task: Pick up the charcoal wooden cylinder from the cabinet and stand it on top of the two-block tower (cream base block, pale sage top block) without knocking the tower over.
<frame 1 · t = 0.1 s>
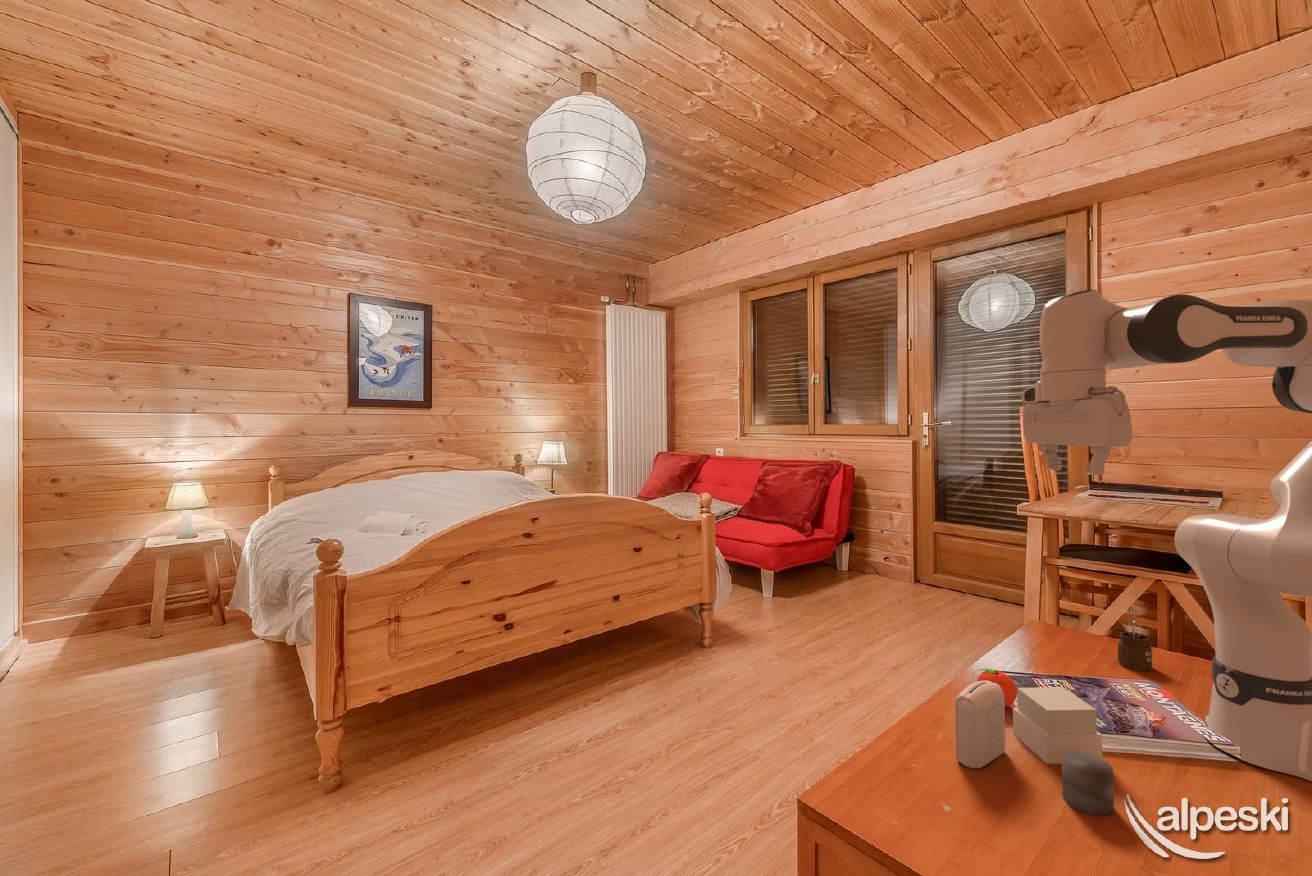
hand: (1073, 472, 94), 48 cm above the cabinet, tool pointing down, fingers open, 8 cm apart
utensil holder: (1134, 666, 127), on the cabinet
tower top block: (1055, 721, 96), point 5 cm above the cabinet, touching tower bottom block
clementine: (993, 705, 112), on the cabinet
tower bottom block: (1055, 749, 97), on the cabinet, touching tower top block
photo printer: (981, 757, 95), on the cabinet
charcoal cylinder: (1087, 803, 83), on the cabinet
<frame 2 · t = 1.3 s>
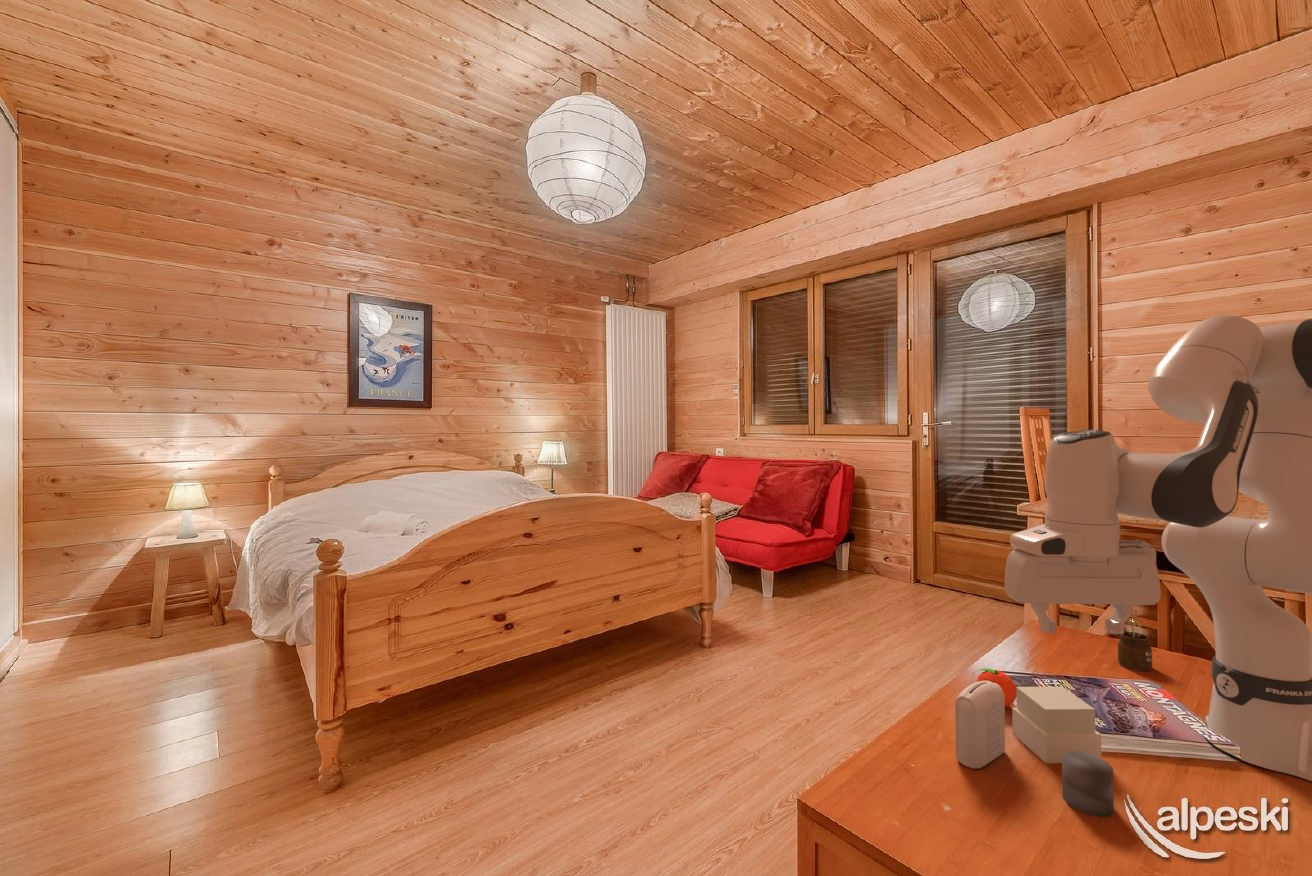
hand: (1080, 632, 83), 25 cm above the cabinet, tool pointing down, fingers open, 8 cm apart
nothing on the cabinet moved.
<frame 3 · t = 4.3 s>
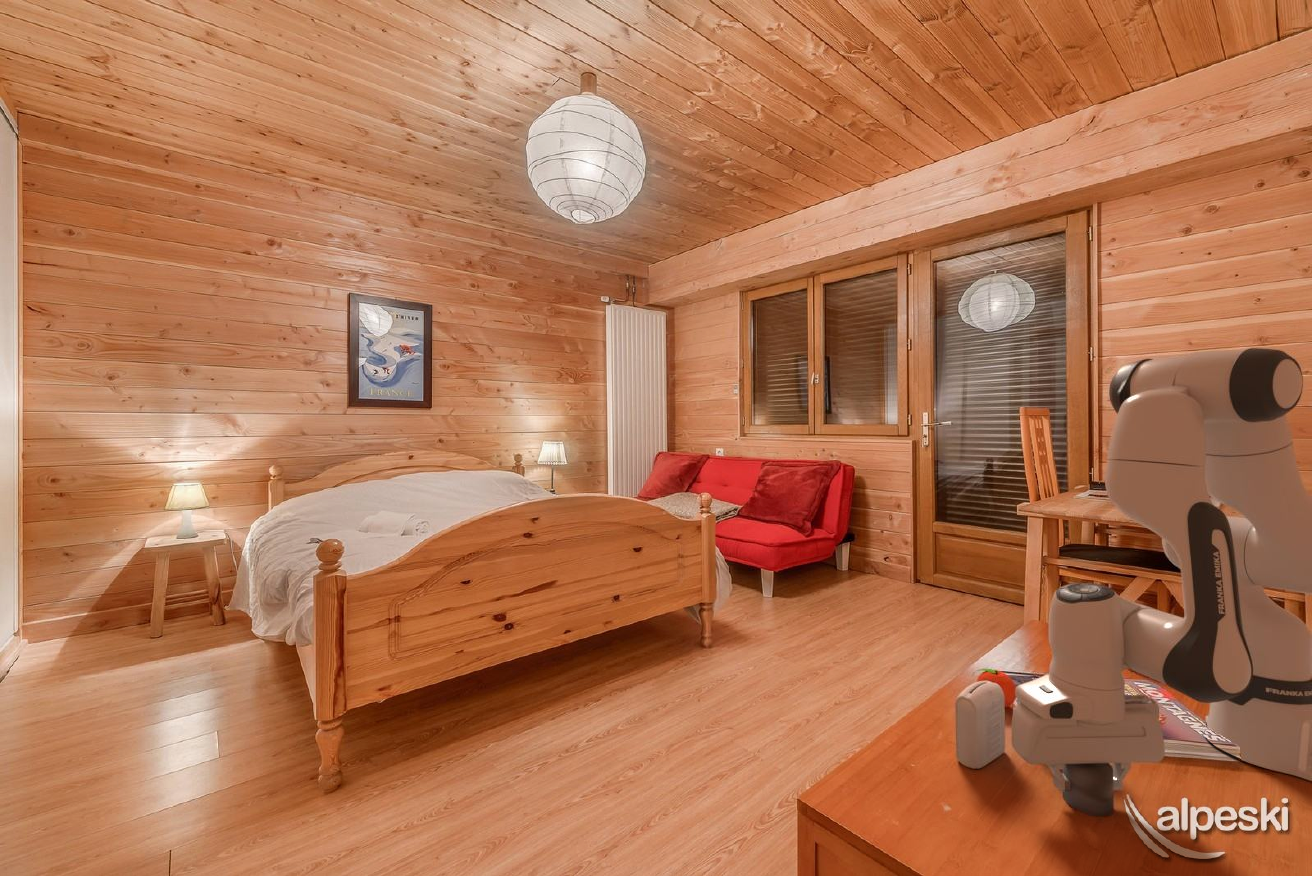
hand: (1087, 788, 83), 2 cm above the cabinet, tool pointing down, fingers closed on charcoal cylinder, 6 cm apart
charcoal cylinder: (1087, 802, 83), on the cabinet, touching gripper
everything else where it was.
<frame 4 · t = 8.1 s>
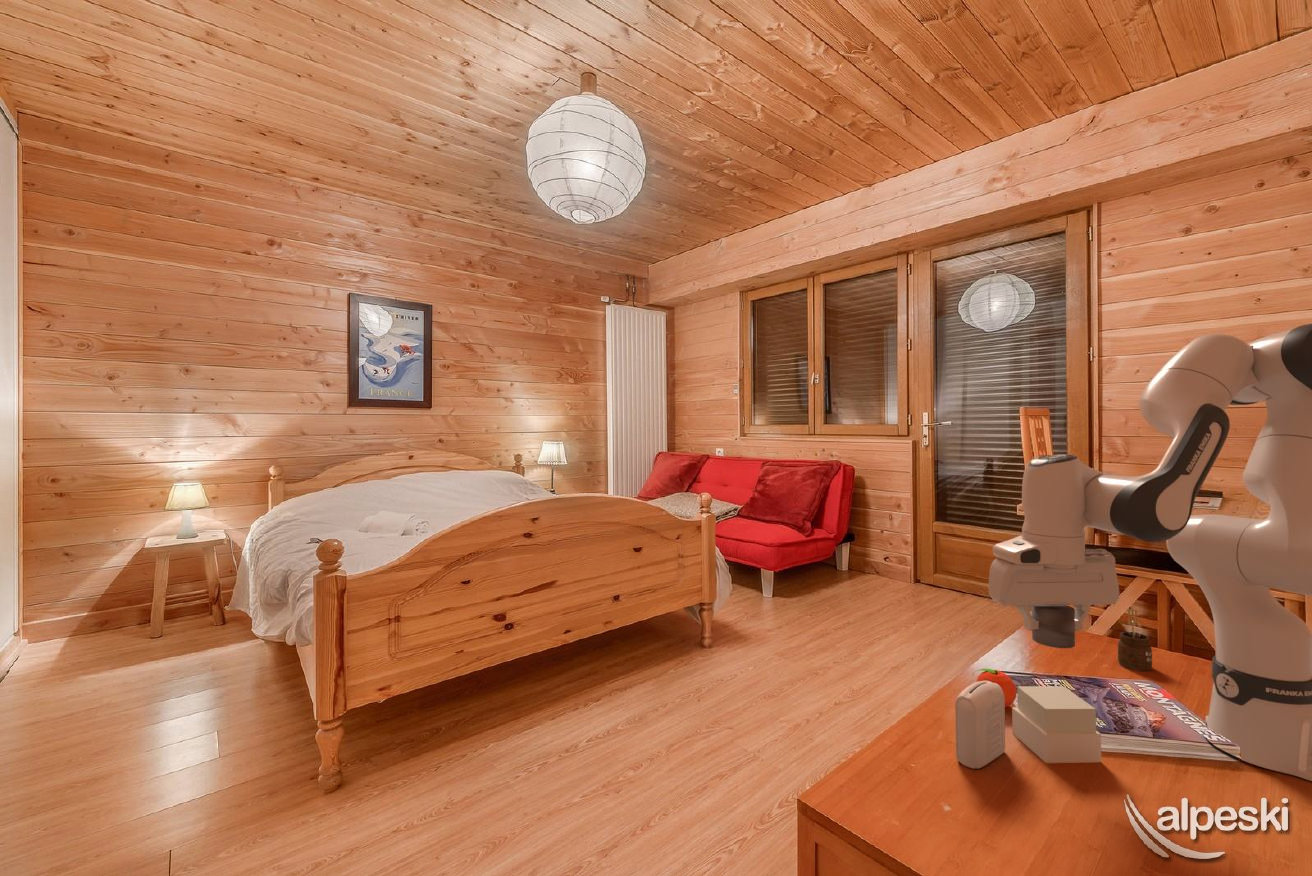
hand: (1053, 629, 96), 21 cm above the cabinet, tool pointing down, fingers closed on charcoal cylinder, 6 cm apart
tower top block: (1055, 720, 97), point 5 cm above the cabinet
tower bottom block: (1054, 748, 97), on the cabinet
charcoal cylinder: (1053, 641, 96), point 19 cm above the cabinet, touching gripper
everything else where it was.
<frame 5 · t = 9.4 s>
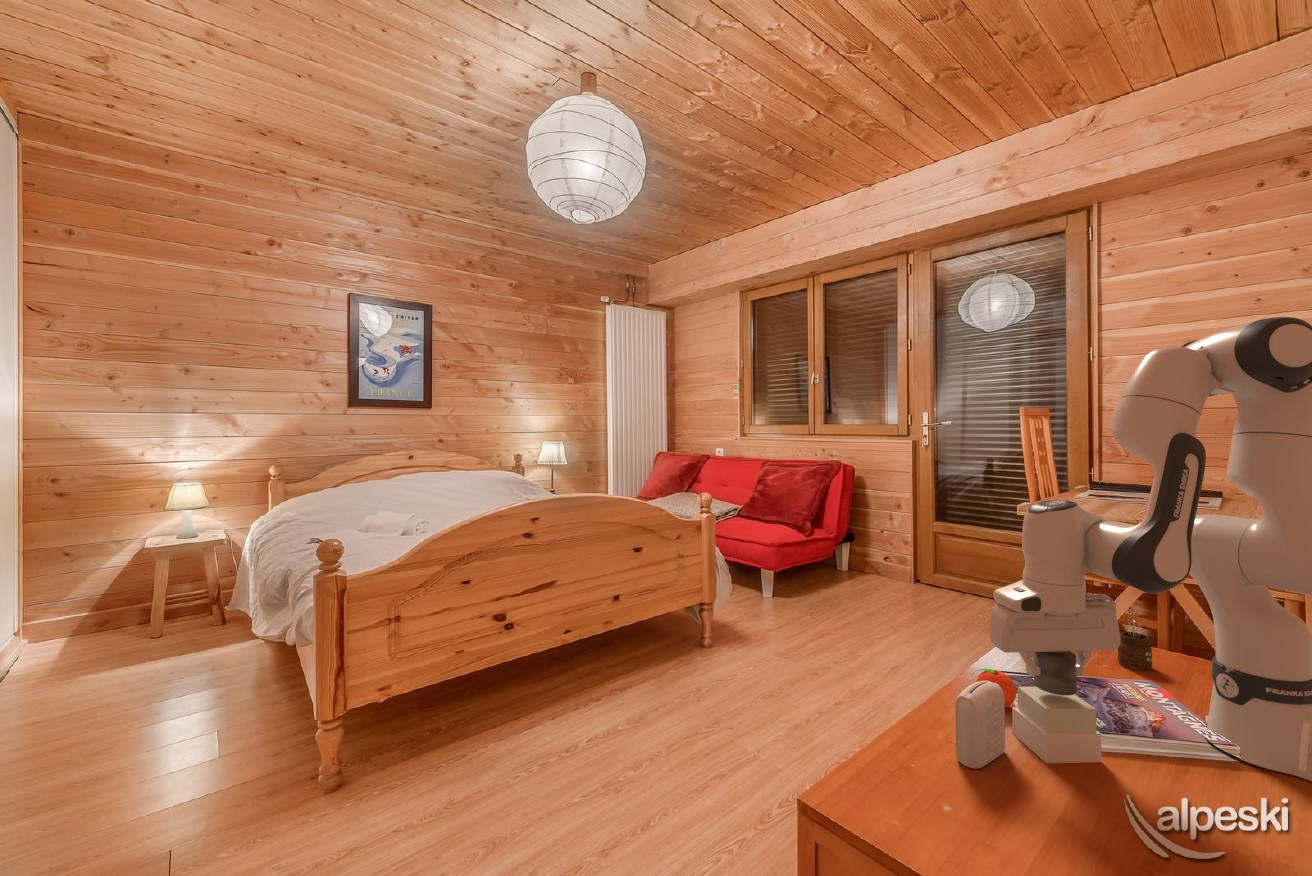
hand: (1054, 674, 97), 13 cm above the cabinet, tool pointing down, fingers closed on charcoal cylinder, 6 cm apart
tower top block: (1055, 720, 97), point 5 cm above the cabinet, touching tower bottom block
tower bottom block: (1055, 748, 97), on the cabinet, touching tower top block
charcoal cylinder: (1055, 687, 97), point 11 cm above the cabinet, touching gripper
everything else where it was.
when the fingers open (13 cm above the cabinet, at t = 9.8 s): charcoal cylinder drops 2 cm, resting on tower top block.
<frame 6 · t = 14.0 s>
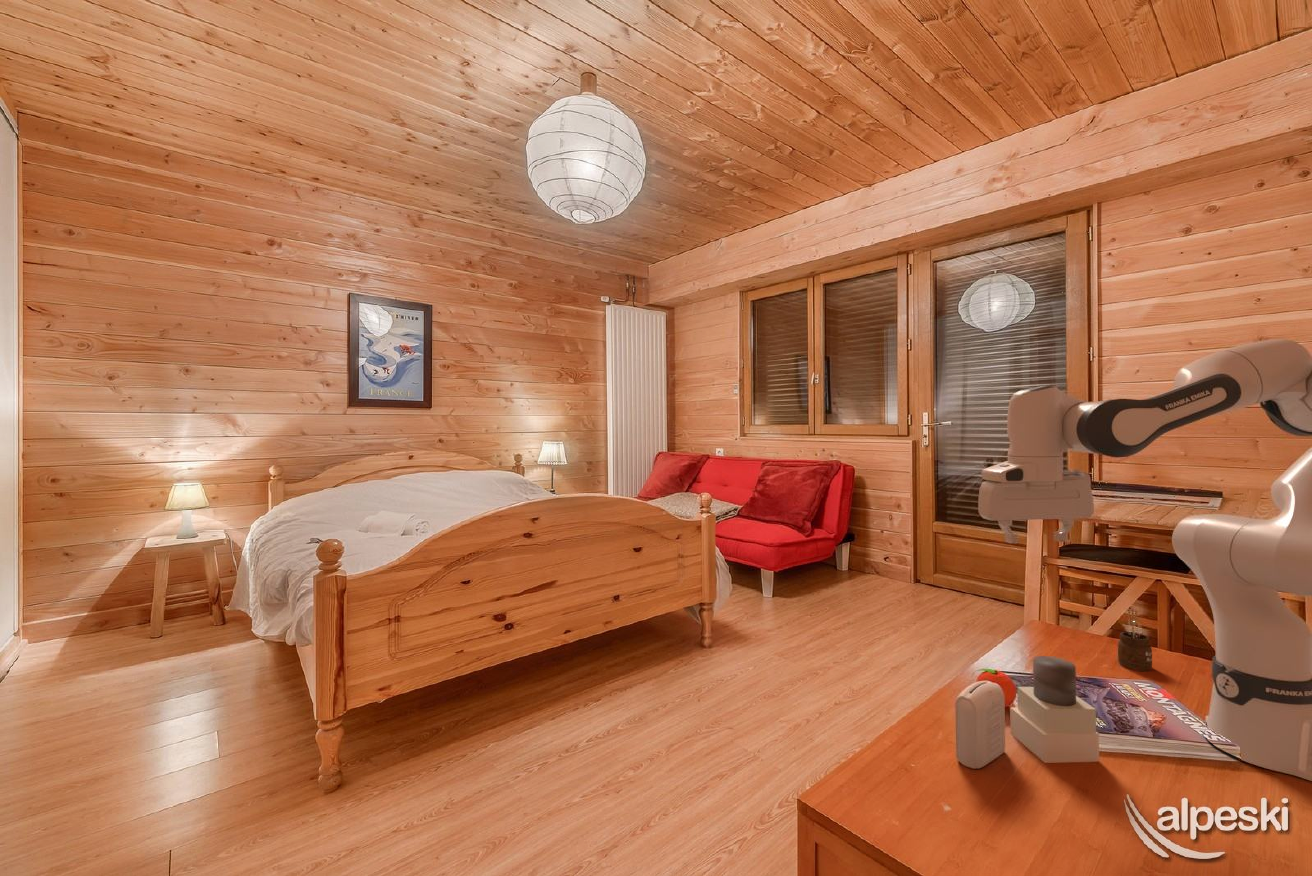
hand: (1036, 542, 108), 33 cm above the cabinet, tool pointing down, fingers open, 8 cm apart
tower top block: (1055, 720, 97), point 5 cm above the cabinet, touching charcoal cylinder, tower bottom block
charcoal cylinder: (1054, 697, 97), point 9 cm above the cabinet, touching tower top block
everything else where it was.
at the end: charcoal cylinder 0.1 cm off-centre on the tower top block, point 4.0 cm above the tower top block's base; tower top block point 4.7 cm above the cabinet; the gripper is holding nothing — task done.
